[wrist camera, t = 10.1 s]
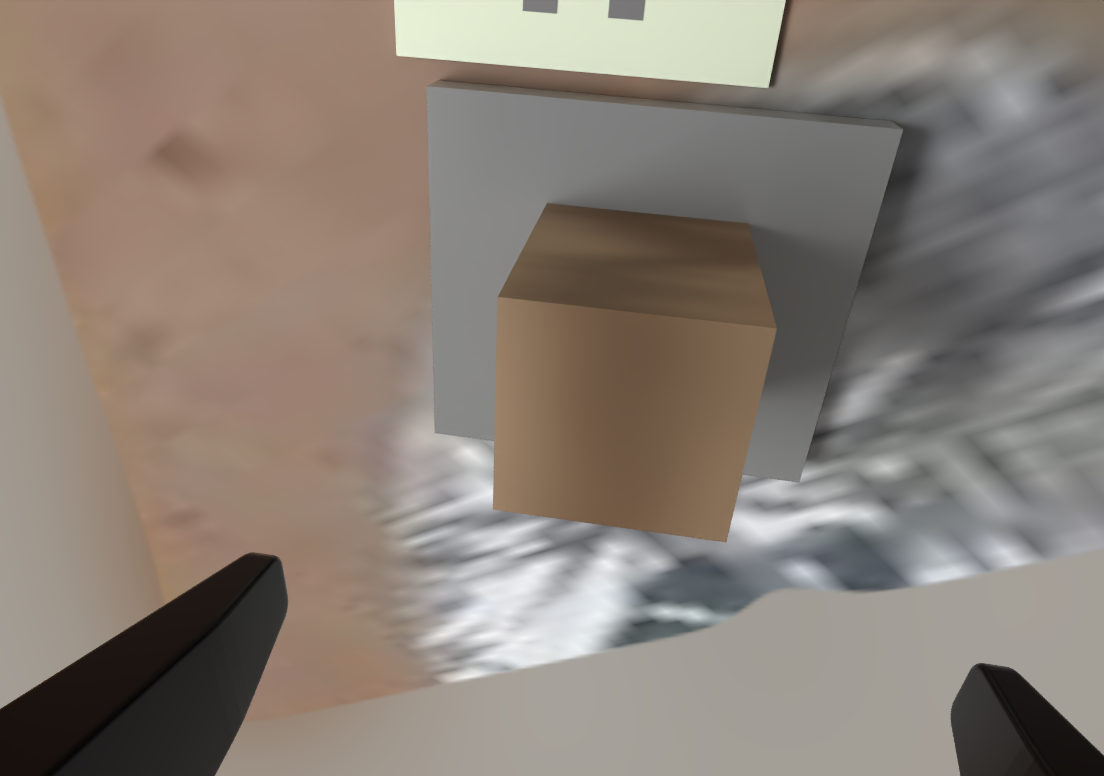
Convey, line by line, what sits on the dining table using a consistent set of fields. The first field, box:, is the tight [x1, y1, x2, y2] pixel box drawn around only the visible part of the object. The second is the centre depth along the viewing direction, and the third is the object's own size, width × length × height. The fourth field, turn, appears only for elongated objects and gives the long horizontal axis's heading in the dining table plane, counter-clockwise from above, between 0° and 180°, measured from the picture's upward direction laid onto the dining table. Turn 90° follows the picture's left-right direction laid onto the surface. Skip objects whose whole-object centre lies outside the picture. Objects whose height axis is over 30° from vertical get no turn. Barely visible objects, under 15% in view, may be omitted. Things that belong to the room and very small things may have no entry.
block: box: [493, 203, 777, 542], centre depth 17 cm, size 5×5×6 cm
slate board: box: [427, 80, 903, 482], centre depth 20 cm, size 11×10×1 cm
